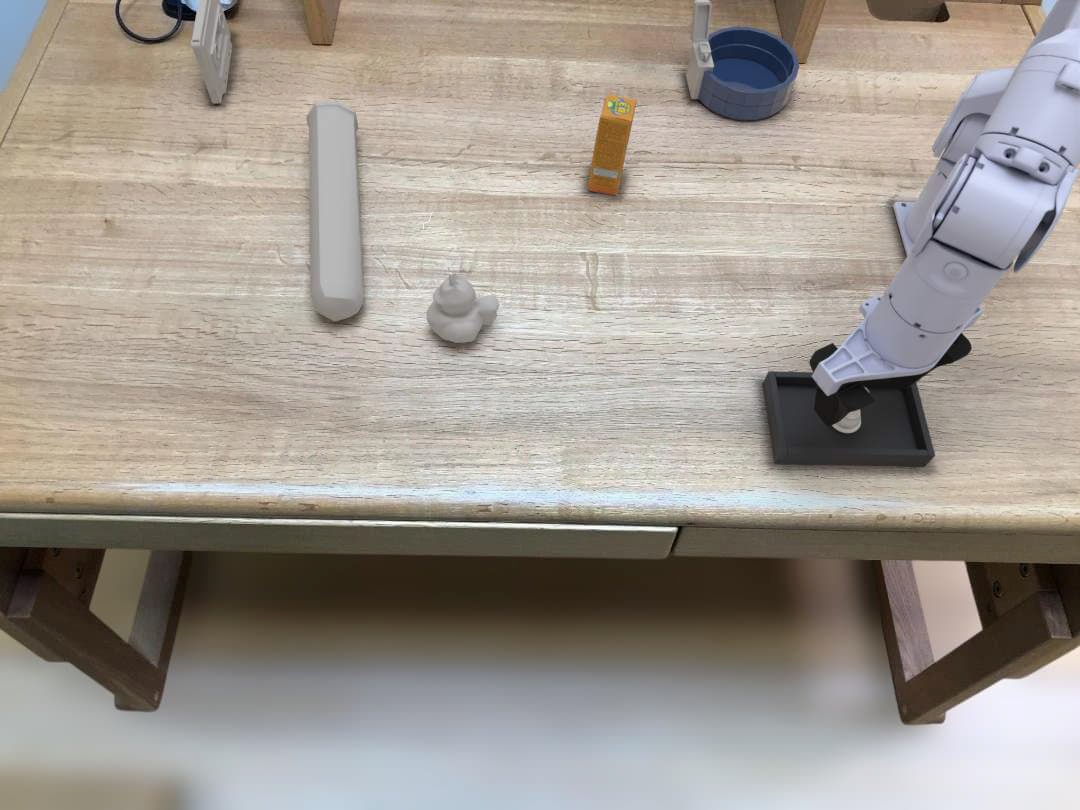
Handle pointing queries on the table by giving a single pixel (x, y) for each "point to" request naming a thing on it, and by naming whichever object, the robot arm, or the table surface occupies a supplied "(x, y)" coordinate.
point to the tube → (334, 211)
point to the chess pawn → (849, 422)
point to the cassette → (212, 47)
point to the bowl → (748, 73)
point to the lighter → (699, 47)
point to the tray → (803, 438)
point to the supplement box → (611, 144)
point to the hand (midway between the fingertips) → (859, 398)
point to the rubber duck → (460, 310)
